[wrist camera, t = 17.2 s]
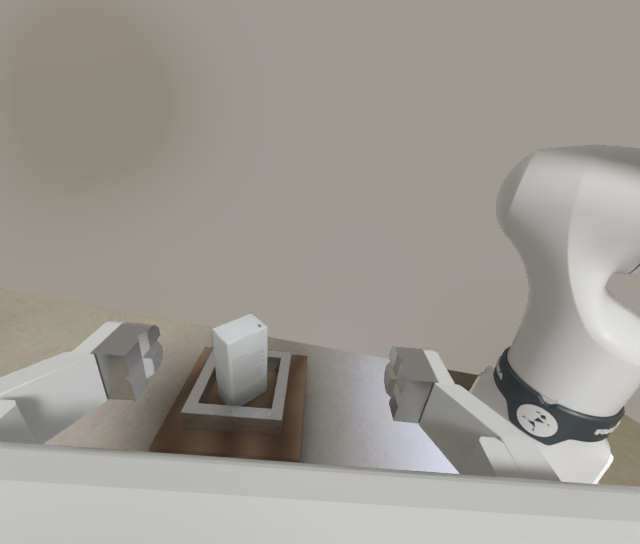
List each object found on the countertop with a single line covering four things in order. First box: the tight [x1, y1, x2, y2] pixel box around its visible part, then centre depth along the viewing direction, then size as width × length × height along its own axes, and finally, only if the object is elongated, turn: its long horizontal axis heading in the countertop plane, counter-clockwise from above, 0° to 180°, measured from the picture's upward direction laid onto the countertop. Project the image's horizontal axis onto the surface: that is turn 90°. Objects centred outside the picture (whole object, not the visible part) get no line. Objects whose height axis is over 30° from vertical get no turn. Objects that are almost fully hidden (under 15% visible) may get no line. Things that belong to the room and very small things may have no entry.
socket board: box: [150, 347, 307, 463], centre depth 42 cm, size 18×18×4 cm
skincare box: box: [212, 314, 268, 406], centre depth 40 cm, size 6×4×12 cm
